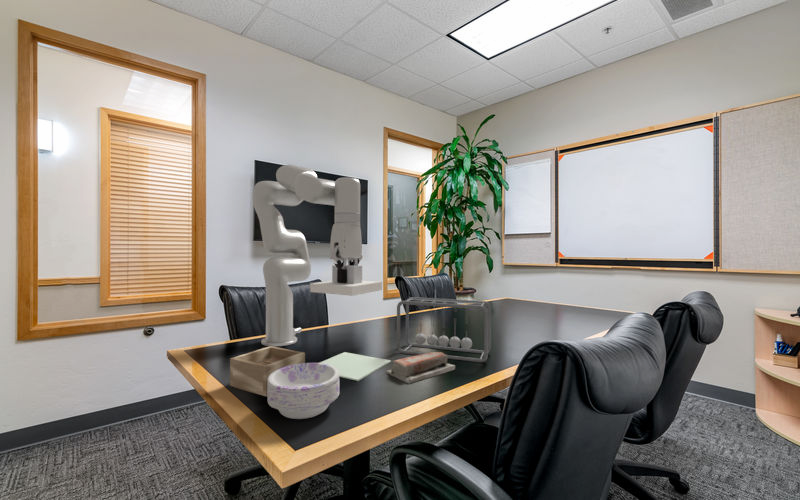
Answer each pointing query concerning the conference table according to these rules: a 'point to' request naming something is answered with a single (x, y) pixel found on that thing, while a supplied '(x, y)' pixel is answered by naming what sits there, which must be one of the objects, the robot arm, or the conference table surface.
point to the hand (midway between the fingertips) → (347, 281)
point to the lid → (349, 288)
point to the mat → (355, 365)
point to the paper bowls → (303, 389)
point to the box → (260, 367)
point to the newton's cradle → (444, 340)
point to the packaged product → (420, 367)
